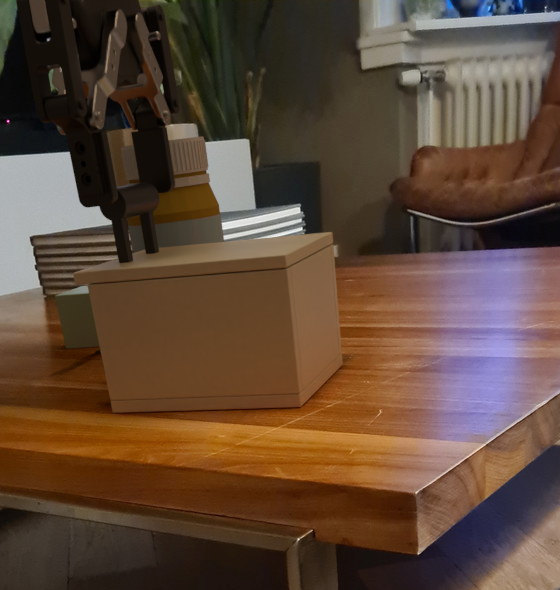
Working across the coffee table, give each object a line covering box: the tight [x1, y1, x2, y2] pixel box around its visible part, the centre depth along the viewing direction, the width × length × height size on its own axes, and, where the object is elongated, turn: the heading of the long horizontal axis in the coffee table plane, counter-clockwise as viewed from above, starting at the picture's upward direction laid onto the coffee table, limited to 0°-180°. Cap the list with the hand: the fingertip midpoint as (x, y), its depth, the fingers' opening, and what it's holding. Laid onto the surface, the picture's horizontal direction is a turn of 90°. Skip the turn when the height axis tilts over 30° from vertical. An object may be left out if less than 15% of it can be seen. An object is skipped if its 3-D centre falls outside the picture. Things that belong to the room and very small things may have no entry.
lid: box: [73, 182, 334, 286], centre depth 56 cm, size 13×11×5 cm
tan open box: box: [87, 243, 344, 414], centre depth 59 cm, size 13×11×8 cm
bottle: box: [120, 136, 225, 254], centre depth 70 cm, size 7×7×15 cm
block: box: [54, 285, 101, 353], centre depth 79 cm, size 5×5×5 cm
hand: (131, 199), depth 57 cm, fingers open, 8 cm apart
